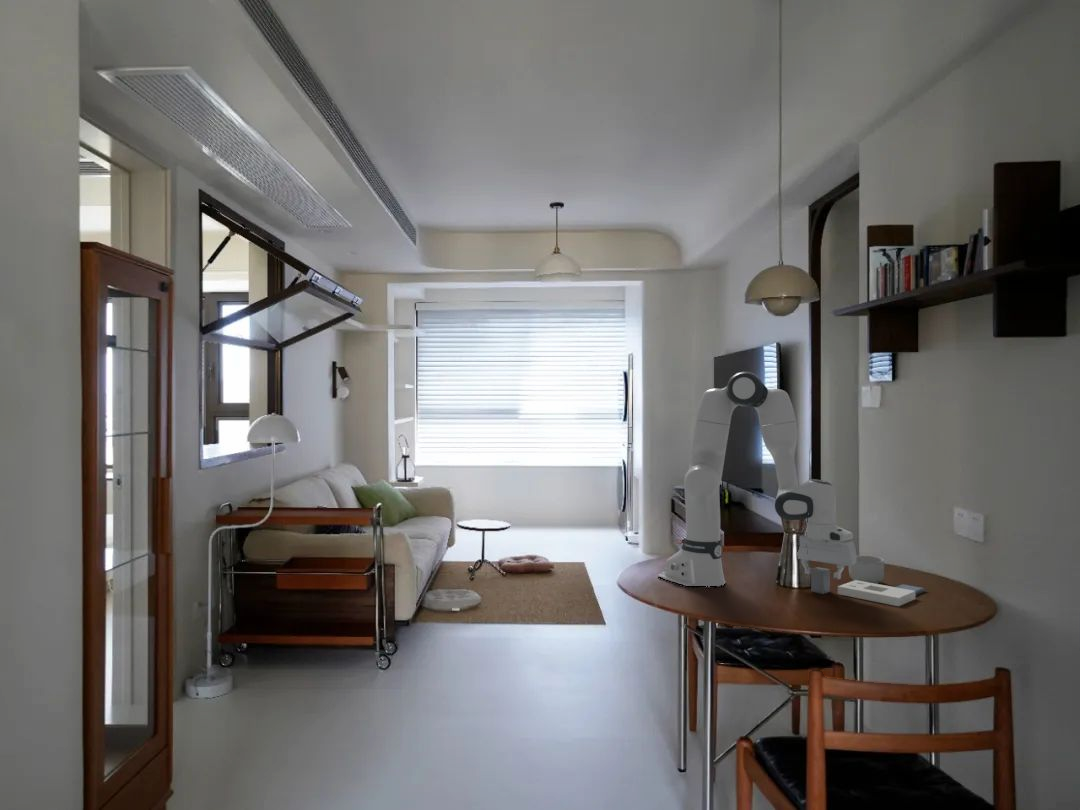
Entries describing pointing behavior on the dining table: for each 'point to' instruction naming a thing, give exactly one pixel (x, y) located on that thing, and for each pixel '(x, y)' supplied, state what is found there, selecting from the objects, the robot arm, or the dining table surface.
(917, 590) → the phone
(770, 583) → the dining table surface
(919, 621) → the dining table surface
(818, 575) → the block
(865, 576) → the grey rounded block
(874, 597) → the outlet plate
